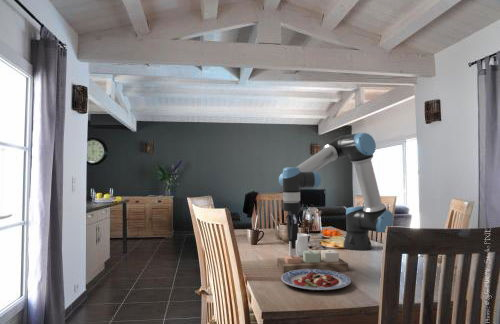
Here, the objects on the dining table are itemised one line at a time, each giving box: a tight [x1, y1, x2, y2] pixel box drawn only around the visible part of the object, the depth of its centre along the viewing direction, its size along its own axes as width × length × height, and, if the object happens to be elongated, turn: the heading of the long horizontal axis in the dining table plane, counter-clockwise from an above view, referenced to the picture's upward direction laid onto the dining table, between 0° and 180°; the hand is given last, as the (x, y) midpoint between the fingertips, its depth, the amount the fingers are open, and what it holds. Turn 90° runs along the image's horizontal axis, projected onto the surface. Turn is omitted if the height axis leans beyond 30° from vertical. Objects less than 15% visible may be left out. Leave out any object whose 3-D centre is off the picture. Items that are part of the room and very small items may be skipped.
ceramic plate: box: [280, 269, 352, 292], centre depth 130 cm, size 26×26×3 cm
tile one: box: [320, 249, 340, 262], centre depth 153 cm, size 6×6×4 cm
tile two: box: [302, 250, 321, 263], centre depth 152 cm, size 6×6×4 cm
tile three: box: [284, 255, 301, 264], centre depth 151 cm, size 6×6×4 cm
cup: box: [296, 233, 309, 257], centre depth 177 cm, size 8×12×10 cm
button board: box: [276, 256, 349, 274], centre depth 152 cm, size 28×14×3 cm, turn 96°
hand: (292, 255), depth 151 cm, fingers closed
